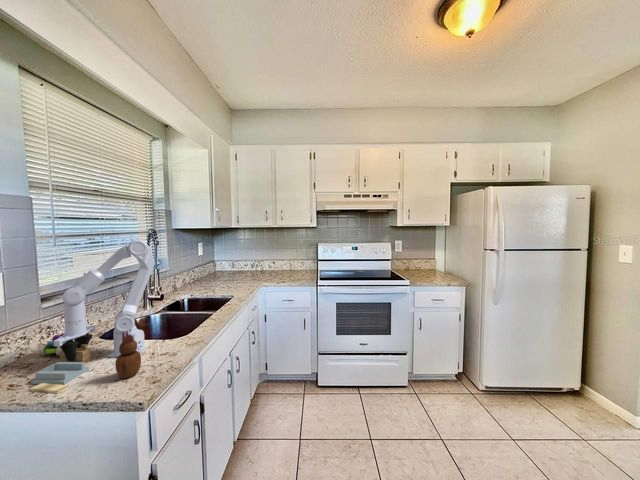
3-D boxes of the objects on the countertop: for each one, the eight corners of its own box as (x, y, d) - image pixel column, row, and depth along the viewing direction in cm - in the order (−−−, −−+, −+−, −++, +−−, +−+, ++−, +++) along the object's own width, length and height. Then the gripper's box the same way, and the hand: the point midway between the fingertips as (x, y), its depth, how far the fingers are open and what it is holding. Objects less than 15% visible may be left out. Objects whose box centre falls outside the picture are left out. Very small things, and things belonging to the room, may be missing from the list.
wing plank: (68, 389, 84) (68, 385, 84) (57, 395, 81) (57, 390, 81) (42, 387, 85) (42, 383, 85) (30, 392, 82) (30, 388, 82)
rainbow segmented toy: (82, 347, 112) (81, 330, 112) (57, 358, 103) (56, 339, 103) (63, 347, 113) (62, 329, 113) (36, 357, 104) (36, 338, 103)
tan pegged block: (91, 360, 102) (90, 342, 102) (82, 364, 98) (82, 346, 98) (69, 359, 102) (68, 342, 102) (60, 364, 98) (59, 346, 98)
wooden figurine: (121, 383, 87) (120, 335, 86) (112, 377, 90) (111, 331, 89) (144, 373, 92) (143, 328, 92) (135, 369, 95) (135, 325, 95)
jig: (88, 369, 94) (88, 361, 94) (64, 384, 86) (64, 374, 85) (59, 369, 95) (59, 360, 94) (31, 384, 86) (31, 374, 85)
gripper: (81, 314, 107) (82, 349, 107) (44, 327, 92) (45, 368, 93) (100, 314, 107) (100, 349, 107) (65, 327, 92) (66, 368, 93)
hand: (76, 358), depth 100 cm, fingers closed on tan pegged block, 3 cm apart
